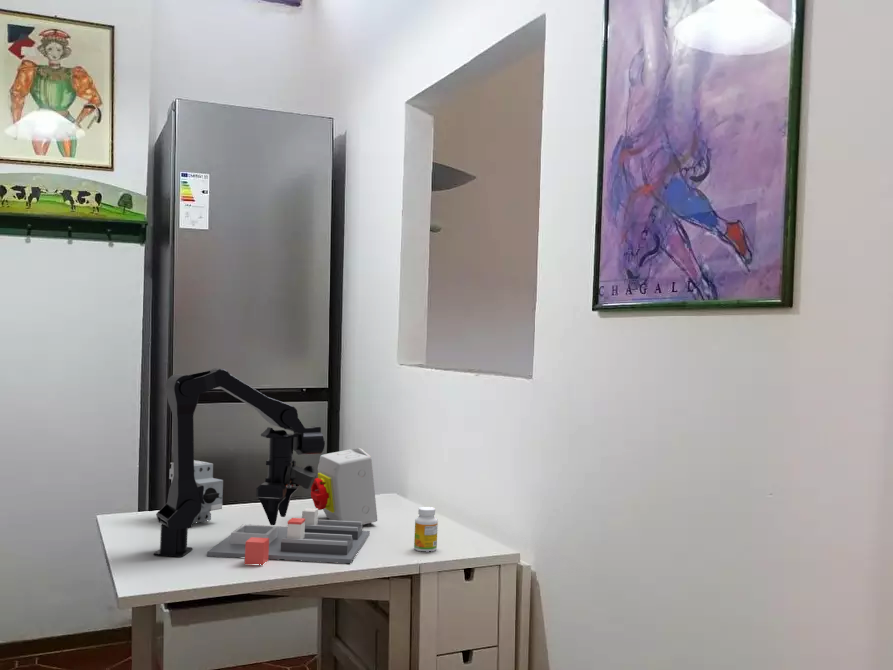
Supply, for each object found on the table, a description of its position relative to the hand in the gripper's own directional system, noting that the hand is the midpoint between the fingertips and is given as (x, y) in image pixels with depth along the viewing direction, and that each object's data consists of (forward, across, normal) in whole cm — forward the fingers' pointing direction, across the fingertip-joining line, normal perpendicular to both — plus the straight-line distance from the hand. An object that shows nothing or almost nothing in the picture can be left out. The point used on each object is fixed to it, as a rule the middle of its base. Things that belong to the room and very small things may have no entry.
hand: (278, 520), depth 194 cm
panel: (+5, -3, -5) cm, 7 cm away
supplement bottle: (+5, -1, -36) cm, 36 cm away
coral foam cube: (+5, -20, -1) cm, 20 cm away
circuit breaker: (+5, +14, +25) cm, 30 cm away
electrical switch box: (+5, +22, -11) cm, 25 cm away
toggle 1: (+2, -10, -7) cm, 12 cm away
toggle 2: (+2, +4, -7) cm, 8 cm away
